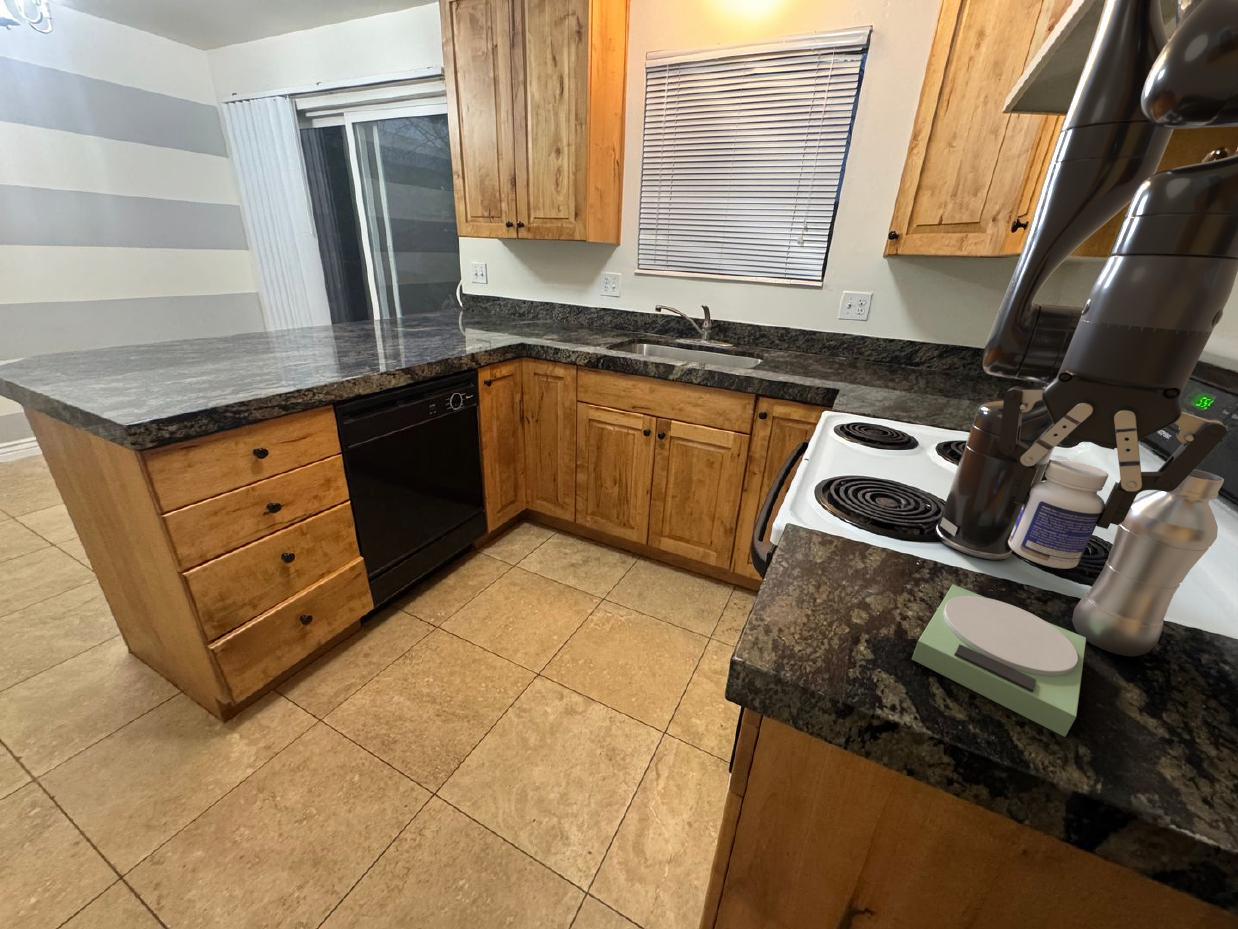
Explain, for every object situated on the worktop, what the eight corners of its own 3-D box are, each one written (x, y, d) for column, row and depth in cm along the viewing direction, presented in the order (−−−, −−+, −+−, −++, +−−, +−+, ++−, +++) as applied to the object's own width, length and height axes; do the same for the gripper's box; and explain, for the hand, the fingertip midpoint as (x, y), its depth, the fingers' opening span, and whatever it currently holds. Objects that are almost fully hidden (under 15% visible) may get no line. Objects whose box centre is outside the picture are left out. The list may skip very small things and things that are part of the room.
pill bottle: (1092, 572, 44) (1137, 482, 41) (1034, 568, 44) (1074, 478, 41) (1046, 541, 49) (1083, 458, 46) (993, 538, 49) (1027, 454, 46)
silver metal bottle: (1164, 671, 50) (1274, 492, 43) (1088, 658, 51) (1182, 482, 44) (1118, 629, 56) (1207, 465, 48) (1051, 618, 57) (1128, 457, 50)
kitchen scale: (946, 600, 59) (954, 579, 58) (1076, 655, 52) (1088, 632, 50) (911, 659, 50) (920, 635, 48) (1065, 737, 42) (1079, 711, 41)
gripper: (1276, 330, 37) (1167, 530, 43) (1035, 310, 46) (975, 477, 52) (1300, 336, 32) (1172, 561, 38) (1024, 311, 41) (958, 497, 47)
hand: (1059, 512), depth 45 cm, fingers closed on pill bottle, 5 cm apart
